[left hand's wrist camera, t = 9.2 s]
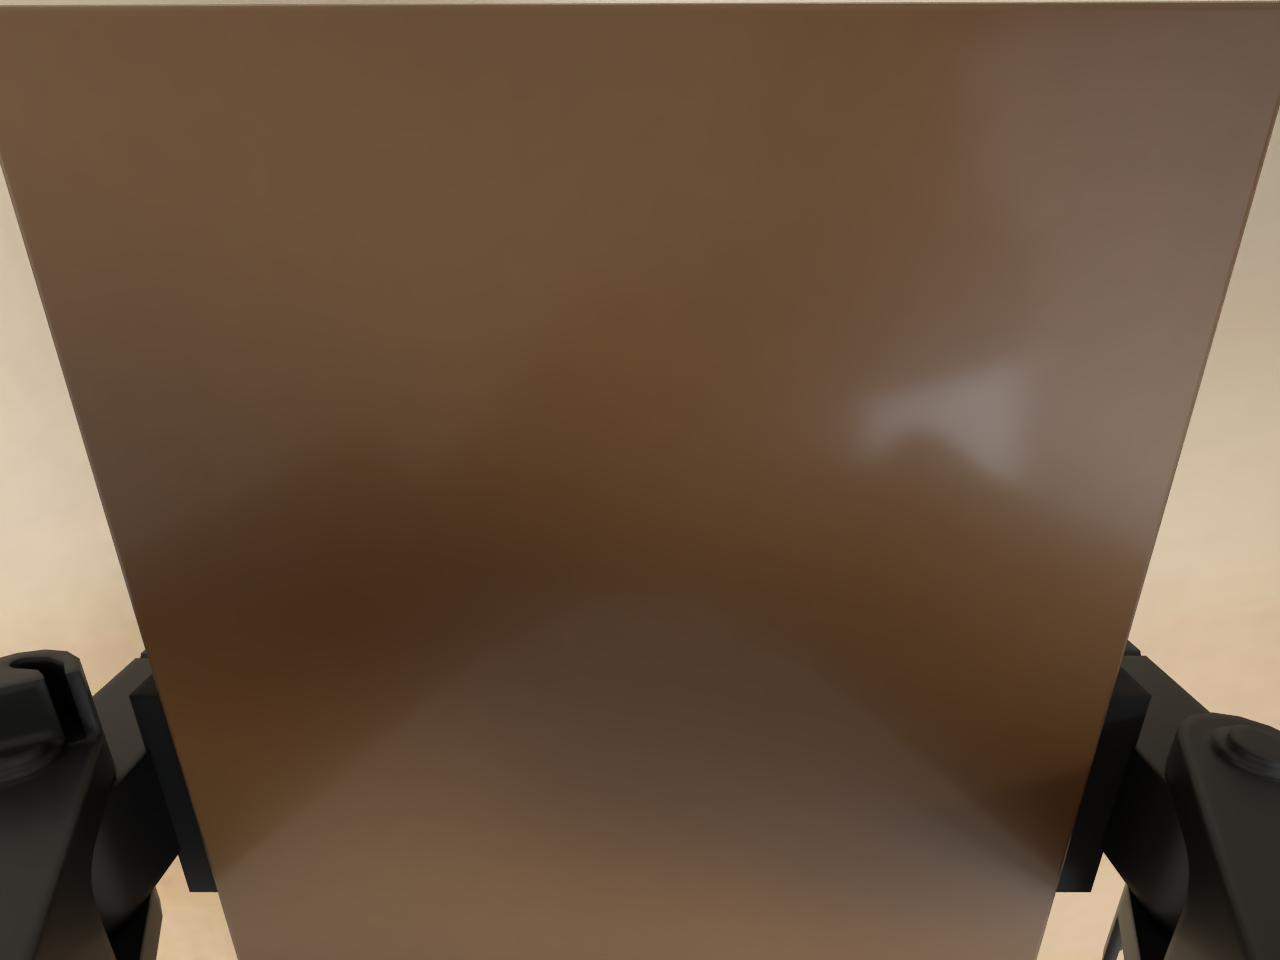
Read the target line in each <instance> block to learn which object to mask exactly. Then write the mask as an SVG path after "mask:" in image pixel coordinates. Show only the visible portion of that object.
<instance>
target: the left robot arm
mask: <svg viewBox="0 0 1280 960" xmlns="http://www.w3.org/2000/svg"><path fill="white" fill-rule="evenodd" d="M1103 852H1104V853H1105V855H1106V856H1107V857H1108V859H1109V860H1110V862H1111V863H1112V864H1113V866H1114V867H1115V869H1116V870H1117V871H1118V873H1119V874H1120V876H1121V877H1122V878H1123V880H1124V881H1125V882H1126V884H1125V887H1124V890H1123V893H1122V896H1121V899H1120V902H1119V905H1118V908H1117V911H1116V914H1115V917H1114V920H1113V923H1112V926H1111V929H1110V932H1109V935H1108V938H1107V941H1106V944H1105V947H1104V952H1103V958H1102V960H1116V959H1117V956H1118V953H1119V951H1120V950H1122V949H1123V954H1124V960H1280V731H1279V730H1277V729H1275V728H1273V727H1271V726H1268V725H1265V724H1261V723H1258V722H1255V721H1252V720H1249V719H1246V718H1243V717H1239V716H1232V715H1226V714H1219V713H1210V712H1209V711H1208V710H1207V709H1206V708H1204V707H1203V706H1202V705H1201V704H1200V703H1199V702H1198V701H1196V700H1195V699H1194V698H1193V697H1192V696H1191V695H1190V694H1189V693H1187V692H1186V691H1185V690H1184V689H1183V688H1182V687H1181V686H1179V685H1178V684H1177V683H1176V682H1175V681H1174V680H1173V679H1172V678H1170V677H1169V676H1168V675H1167V674H1166V673H1165V672H1164V671H1162V670H1161V669H1160V668H1159V667H1158V666H1157V665H1156V664H1155V663H1153V662H1152V661H1151V660H1150V659H1149V658H1148V657H1147V656H1141V654H1140V650H1139V649H1138V648H1136V647H1135V646H1134V645H1133V644H1132V643H1131V642H1130V641H1128V640H1127V643H1126V647H1125V650H1124V654H1123V657H1122V661H1121V664H1120V668H1119V671H1118V675H1117V678H1116V682H1115V685H1114V689H1113V692H1112V696H1111V699H1110V703H1109V706H1108V710H1107V713H1106V717H1105V720H1104V724H1103V728H1102V731H1101V735H1100V738H1099V742H1098V745H1097V749H1096V752H1095V756H1094V759H1093V763H1092V766H1091V770H1090V773H1089V777H1088V780H1087V784H1086V787H1085V791H1084V794H1083V798H1082V801H1081V805H1080V808H1079V812H1078V815H1077V819H1076V822H1075V826H1074V829H1073V833H1072V836H1071V840H1070V843H1069V847H1068V850H1067V854H1066V857H1065V861H1064V864H1063V868H1062V871H1061V875H1060V879H1059V882H1058V886H1057V889H1056V892H1091V890H1092V886H1093V883H1094V880H1095V877H1096V873H1097V870H1098V867H1099V864H1100V861H1101V857H1102V854H1103ZM177 855H178V856H179V859H180V862H181V865H182V868H183V872H184V875H185V878H186V881H187V885H188V888H189V891H190V892H218V891H217V887H216V884H215V881H214V877H213V874H212V871H211V867H210V864H209V861H208V857H207V854H206V850H205V847H204V844H203V840H202V837H201V834H200V830H199V827H198V824H197V820H196V817H195V814H194V810H193V807H192V804H191V800H190V797H189V794H188V790H187V787H186V783H185V780H184V777H183V773H182V770H181V767H180V763H179V760H178V757H177V753H176V750H175V747H174V743H173V740H172V737H171V733H170V730H169V727H168V723H167V720H166V716H165V713H164V710H163V706H162V703H161V700H160V696H159V693H158V690H157V686H156V683H155V680H154V676H153V673H152V670H151V666H150V663H149V660H148V656H147V653H146V650H144V651H143V652H142V653H141V657H140V658H135V659H134V660H133V661H132V662H131V663H130V664H129V665H128V666H126V667H125V668H124V669H123V670H122V671H121V672H120V673H119V674H117V675H116V676H115V677H114V678H113V679H112V680H111V681H110V682H108V683H107V684H106V685H105V686H104V687H103V688H102V689H101V690H99V691H98V692H97V693H96V694H95V695H94V696H93V697H92V695H91V692H90V689H89V686H88V683H87V680H86V677H85V674H84V671H83V668H82V665H81V662H80V659H79V658H77V657H76V656H74V655H72V654H71V653H69V652H67V651H57V650H38V651H30V652H23V653H16V654H12V655H9V656H5V657H1V658H0V960H156V956H157V949H158V943H159V936H160V929H161V923H162V910H161V903H160V899H159V896H158V893H157V890H156V887H155V886H156V884H157V883H158V882H159V880H160V879H161V877H162V876H163V875H164V873H165V872H166V870H167V869H168V868H169V866H170V865H171V863H172V862H173V861H174V859H175V858H176V856H177Z"/></svg>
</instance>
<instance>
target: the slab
mask: <svg viewBox="0 0 1280 960" xmlns="http://www.w3.org/2000/svg"><path fill="white" fill-rule="evenodd" d="M1279 106H1280V1H1190V2H875V3H560V4H245V5H0V164H1V167H2V170H3V174H4V177H5V180H6V184H7V187H8V191H9V194H10V197H11V201H12V204H13V207H14V211H15V214H16V217H17V221H18V224H19V227H20V231H21V234H22V237H23V241H24V244H25V247H26V251H27V254H28V258H29V261H30V264H31V268H32V271H33V274H34V278H35V281H36V284H37V288H38V291H39V294H40V298H41V301H42V304H43V308H44V311H45V314H46V318H47V321H48V325H49V328H50V331H51V335H52V338H53V341H54V345H55V348H56V351H57V355H58V358H59V361H60V365H61V368H62V371H63V375H64V378H65V381H66V385H67V388H68V392H69V395H70V398H71V402H72V405H73V408H74V412H75V415H76V418H77V422H78V425H79V428H80V432H81V435H82V438H83V442H84V445H85V448H86V452H87V455H88V459H89V462H90V465H91V469H92V472H93V475H94V479H95V482H96V485H97V489H98V492H99V495H100V499H101V502H102V505H103V509H104V512H105V515H106V519H107V522H108V526H109V529H110V532H111V536H112V539H113V542H114V546H115V549H116V552H117V556H118V559H119V562H120V566H121V569H122V572H123V576H124V579H125V582H126V586H127V589H128V593H129V596H130V599H131V603H132V606H133V609H134V613H135V616H136V619H137V623H138V626H139V629H140V633H141V636H142V639H143V643H144V646H145V649H146V653H147V656H148V660H149V663H150V666H151V670H152V673H153V676H154V680H155V683H156V686H157V690H158V693H159V696H160V700H161V703H162V706H163V710H164V713H165V716H166V720H167V723H168V727H169V730H170V733H171V737H172V740H173V743H174V747H175V750H176V753H177V757H178V760H179V763H180V767H181V770H182V773H183V777H184V780H185V783H186V787H187V790H188V794H189V797H190V800H191V804H192V807H193V810H194V814H195V817H196V820H197V824H198V827H199V830H200V834H201V837H202V840H203V844H204V847H205V850H206V854H207V857H208V861H209V864H210V867H211V871H212V874H213V877H214V881H215V884H216V887H217V891H218V894H219V897H220V901H221V904H222V907H223V911H224V914H225V917H226V921H227V924H228V928H229V931H230V934H231V938H232V941H233V944H234V948H235V951H236V954H237V958H238V960H1036V959H1037V956H1038V952H1039V949H1040V945H1041V942H1042V938H1043V935H1044V931H1045V928H1046V924H1047V921H1048V917H1049V914H1050V910H1051V907H1052V903H1053V900H1054V896H1055V893H1056V889H1057V886H1058V882H1059V879H1060V875H1061V871H1062V868H1063V864H1064V861H1065V857H1066V854H1067V850H1068V847H1069V843H1070V840H1071V836H1072V833H1073V829H1074V826H1075V822H1076V819H1077V815H1078V812H1079V808H1080V805H1081V801H1082V798H1083V794H1084V791H1085V787H1086V784H1087V780H1088V777H1089V773H1090V770H1091V766H1092V763H1093V759H1094V756H1095V752H1096V749H1097V745H1098V742H1099V738H1100V735H1101V731H1102V728H1103V724H1104V720H1105V717H1106V713H1107V710H1108V706H1109V703H1110V699H1111V696H1112V692H1113V689H1114V685H1115V682H1116V678H1117V675H1118V671H1119V668H1120V664H1121V661H1122V657H1123V654H1124V650H1125V647H1126V643H1127V640H1128V636H1129V633H1130V629H1131V626H1132V622H1133V619H1134V615H1135V612H1136V608H1137V605H1138V601H1139V598H1140V594H1141V591H1142V587H1143V584H1144V580H1145V577H1146V573H1147V569H1148V566H1149V562H1150V559H1151V555H1152V552H1153V548H1154V545H1155V541H1156V538H1157V534H1158V531H1159V527H1160V524H1161V520H1162V517H1163V513H1164V510H1165V506H1166V503H1167V499H1168V496H1169V492H1170V489H1171V485H1172V482H1173V478H1174V475H1175V471H1176V468H1177V464H1178V461H1179V457H1180V454H1181V450H1182V447H1183V443H1184V440H1185V436H1186V433H1187V429H1188V426H1189V422H1190V418H1191V415H1192V411H1193V408H1194V404H1195V401H1196V397H1197V394H1198V390H1199V387H1200V383H1201V380H1202V376H1203V373H1204V369H1205V366H1206V362H1207V359H1208V355H1209V352H1210V348H1211V345H1212V341H1213V338H1214V334H1215V331H1216V327H1217V324H1218V320H1219V317H1220V313H1221V310H1222V306H1223V303H1224V299H1225V296H1226V292H1227V289H1228V285H1229V282H1230V278H1231V274H1232V271H1233V267H1234V264H1235V260H1236V257H1237V253H1238V250H1239V246H1240V243H1241V239H1242V236H1243V232H1244V229H1245V225H1246V222H1247V218H1248V215H1249V211H1250V208H1251V204H1252V201H1253V197H1254V194H1255V190H1256V187H1257V183H1258V180H1259V176H1260V173H1261V169H1262V166H1263V162H1264V159H1265V155H1266V152H1267V148H1268V145H1269V141H1270V138H1271V134H1272V131H1273V127H1274V123H1275V120H1276V116H1277V113H1278V109H1279Z"/></svg>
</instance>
